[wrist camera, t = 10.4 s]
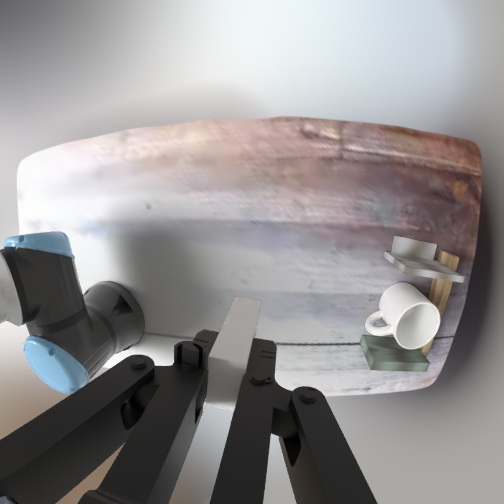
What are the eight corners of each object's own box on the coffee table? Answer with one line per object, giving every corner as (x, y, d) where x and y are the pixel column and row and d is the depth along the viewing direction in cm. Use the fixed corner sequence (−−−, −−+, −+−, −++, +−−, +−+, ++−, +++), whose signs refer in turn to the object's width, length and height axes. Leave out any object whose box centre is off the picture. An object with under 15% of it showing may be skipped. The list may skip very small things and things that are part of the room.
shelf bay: (357, 350, 52) (368, 381, 42) (388, 234, 46) (411, 246, 37) (413, 354, 51) (430, 382, 41) (447, 246, 45) (475, 259, 36)
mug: (362, 333, 51) (375, 363, 41) (355, 294, 49) (369, 319, 39) (419, 314, 49) (441, 339, 39) (414, 275, 47) (439, 295, 37)
